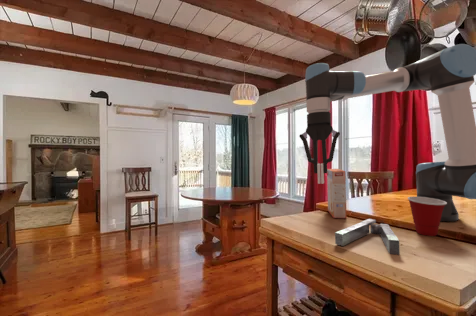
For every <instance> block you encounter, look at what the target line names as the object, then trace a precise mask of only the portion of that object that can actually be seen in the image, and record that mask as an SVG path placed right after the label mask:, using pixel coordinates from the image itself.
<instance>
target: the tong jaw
mask: <svg viewBox="0 0 476 316" xmlns="http://www.w3.org/2000/svg"><path fill="white" fill-rule="evenodd" d="M372 224H377V220H376V219H372V218H367V219H365V220H362V221H360V222H358V223H355V224H353V225H350V226H348V227H346V228H343V229H341V230H338V231H336V232H334V240H335V241H334V242H335V243H334V244H335V245H337V244H338V246H340V245H341V247H344V246H346V245H349V244H350V243H353V242H354V241H356V240H358V239H360V238H363V237H365V236H366V235H369V234H370V226H371V225H372Z"/></svg>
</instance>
